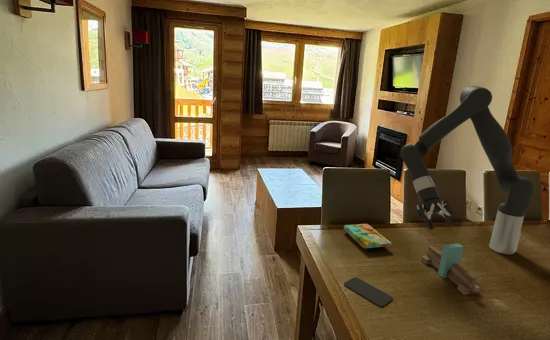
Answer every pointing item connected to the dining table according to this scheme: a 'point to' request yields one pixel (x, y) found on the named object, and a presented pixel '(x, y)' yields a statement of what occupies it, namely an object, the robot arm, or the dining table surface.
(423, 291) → the dining table surface
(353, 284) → the phone
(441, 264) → the slotted tab
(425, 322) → the dining table surface
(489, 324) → the dining table surface
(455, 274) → the slotted rail
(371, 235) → the puzzle game
